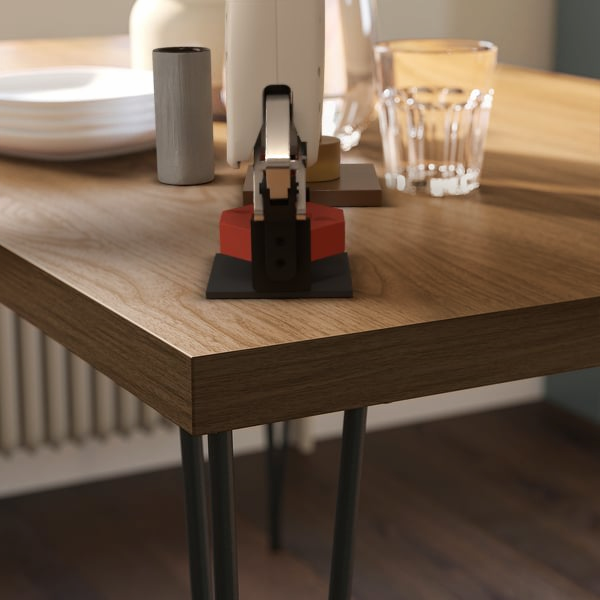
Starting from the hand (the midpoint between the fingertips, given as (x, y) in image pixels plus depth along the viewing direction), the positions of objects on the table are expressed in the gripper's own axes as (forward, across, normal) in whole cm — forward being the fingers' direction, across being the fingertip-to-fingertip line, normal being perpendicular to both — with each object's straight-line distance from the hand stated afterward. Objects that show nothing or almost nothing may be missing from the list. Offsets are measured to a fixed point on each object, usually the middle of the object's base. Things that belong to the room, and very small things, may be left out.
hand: (282, 268), depth 68 cm
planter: (+1, -28, -8) cm, 29 cm away
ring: (-1, 0, 0) cm, 1 cm away
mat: (+1, 0, 0) cm, 1 cm away
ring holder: (+1, -23, +2) cm, 23 cm away
